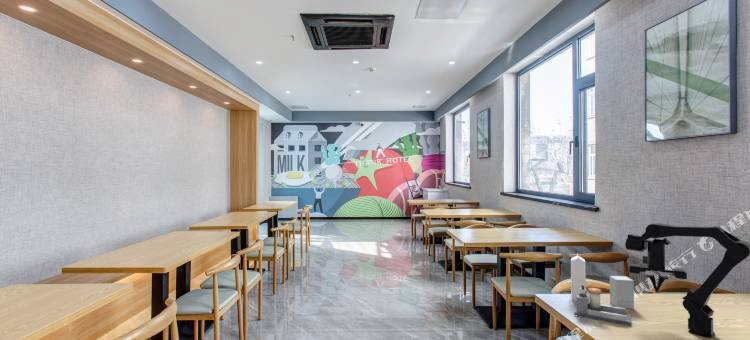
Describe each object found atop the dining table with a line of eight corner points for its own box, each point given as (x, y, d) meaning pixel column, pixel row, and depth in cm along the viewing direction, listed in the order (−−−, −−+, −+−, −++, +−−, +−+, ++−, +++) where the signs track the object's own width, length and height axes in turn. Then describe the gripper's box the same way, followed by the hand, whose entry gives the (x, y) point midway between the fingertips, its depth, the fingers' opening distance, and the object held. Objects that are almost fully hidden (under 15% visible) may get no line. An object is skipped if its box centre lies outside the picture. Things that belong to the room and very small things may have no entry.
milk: (571, 300, 177) (570, 254, 177) (571, 296, 183) (570, 251, 183) (586, 302, 175) (585, 255, 175) (585, 298, 180) (584, 252, 180)
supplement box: (634, 308, 166) (634, 280, 166) (616, 307, 167) (616, 279, 167) (626, 303, 173) (626, 276, 173) (609, 302, 174) (609, 275, 174)
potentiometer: (587, 294, 161) (587, 285, 161) (586, 296, 159) (586, 287, 159) (579, 293, 163) (579, 284, 163) (578, 295, 161) (578, 285, 161)
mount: (630, 317, 156) (630, 298, 156) (630, 326, 147) (630, 305, 147) (576, 308, 167) (576, 290, 167) (574, 315, 158) (574, 296, 158)
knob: (601, 310, 160) (601, 288, 160) (601, 314, 155) (601, 292, 155) (589, 307, 162) (588, 286, 162) (588, 312, 157) (587, 290, 157)
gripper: (682, 252, 153) (683, 290, 153) (628, 248, 164) (628, 283, 164) (686, 258, 144) (687, 298, 144) (628, 252, 154) (629, 290, 154)
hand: (656, 292), depth 152 cm, fingers closed
